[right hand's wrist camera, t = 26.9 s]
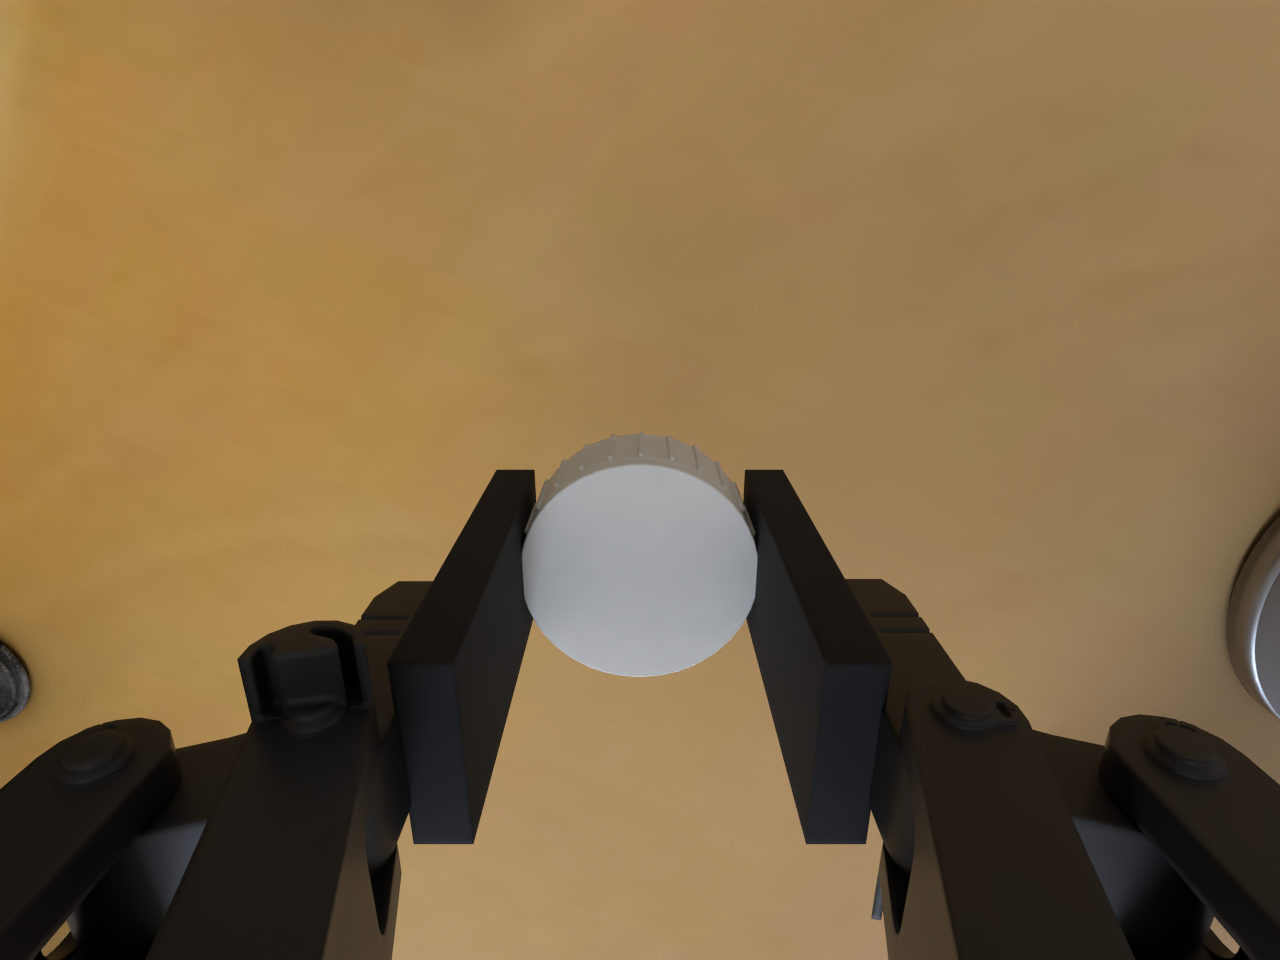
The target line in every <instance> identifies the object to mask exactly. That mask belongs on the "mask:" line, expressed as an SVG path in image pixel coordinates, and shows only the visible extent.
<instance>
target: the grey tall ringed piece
mask: <svg viewBox="0 0 1280 960" xmlns="http://www.w3.org/2000/svg"><path fill="white" fill-rule="evenodd" d="M29 696H30V684H29V680H28V676H27V673H26V671H25V670H24V668H23V666H22V665H21V663H20V661H19V660H18V659H17V658H16V657H15V656H14V655H13V654H12V653H11V651H10V650H8V649H7V648H6V647H4V646H3V645H2V644H0V722H3V721H6V720H8V719H10V718H12V717H14V716H16V715H17V714H18V713H19V712H20V711H21V710H22V709H23V708H24V707H25V706H26V704H27V701H28V699H29Z"/></svg>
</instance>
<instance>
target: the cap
mask: <svg viewBox="0 0 1280 960" xmlns="http://www.w3.org/2000/svg"><path fill="white" fill-rule="evenodd" d="M524 533H525V534H527V535H526V538H525V541H524V545H523V549H522V567H523V583H524V597H525V601H526V604H527V606H528V609H529V611H530V613H531V615H532V617H533V619H534V620H535V622H536V624H537V625H538V626H539V628H540V629H541V631H542V632H543V633H544V635H545V636H546V637H547V638H548V639H549V640H550V641H551V642H552V643H553V644H554V645H555V646H557V647H558V648H559V649H560V650H561V651H563V652H564V653H565V654H567V655H568V656H570V657H572V658H573V659H575V660H576V661H578V662H580V663H582V664H585V665H587V666H589V667H591V668H594V669H597V670H600V671H603V672H607V673H611V674H616V675H622V676H632V677H648V676H657V675H664V674H668V673H672V672H677V671H680V670H682V669H685V668H688V667H691V666H693V665H695V664H697V663H699V662H701V661H703V660H705V659H706V658H708V657H709V656H711V655H712V654H714V653H716V652H717V651H718V650H719V649H720V648H722V647H723V646H724V645H725V644H726V643H727V642H728V641H729V640H730V639H731V638H732V637H733V636H734V635H735V634H736V632H737V631H738V630H739V628H740V627H741V625H742V624H743V623H744V621H745V619H746V617H747V615H748V614H749V612H750V610H751V607H752V605H753V602H754V599H755V590H756V575H757V559H758V552H757V548H756V543H755V540H754V536H755V531H754V528H753V525H752V522H751V520H750V517H749V514H748V512H747V509H746V506H745V505H744V504H743V502H742V499H741V496H740V493H739V491H738V488H737V485H736V483H735V482H731V481H730V479H729V478H728V477H727V475H726V474H725V473H724V472H723V470H722V469H721V466H720V463H719V462H718V461H716V462H714V461H713V460H712V459H710V458H709V457H708V456H706V455H705V454H703V453H702V452H701V451H699V450H698V447H697V446H695V445H694V446H693V447H692V446H690V445H688V444H685V443H683V442H680V441H678V440H675V439H672V436H670V435H667V437H664V436H658V435H650V434H643V432H639V434H629V435H621V436H616V437H615V435H614V434H613V435H610V438H608V439H604V440H601V441H599V442H596V443H594V444H592V445H588V444H586V445H584V448H583V449H582V450H581V451H579V452H577V453H576V454H575V455H573V456H572V457H571V458H569V459H568V460H567V461H566V460H565V459H564V460H563V461H562V462H561V465H560V468H559V469H558V470H557V471H556V472H555V473H554V475H553V476H552V477H551V478H550V480H547V479H546V481H545V482H544V485H543V488H542V491H541V493H540V496H539V499H538V502H537V503H535V504H534V506H533V509H532V512H531V515H530V517H529V520H528V523H527V525H526V528H525V531H524Z"/></svg>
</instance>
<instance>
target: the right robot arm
mask: <svg viewBox="0 0 1280 960" xmlns="http://www.w3.org/2000/svg"><path fill="white" fill-rule="evenodd" d="M535 503H536V490H535V472H534V470H496V472H495V474H494V476H493V477H492V479H491V481H490V483H489V484H488V486H487V488H486V490H485V491H484V493H483V495H482V497H481V498H480V500H479V502H478V504H477V505H476V507H475V509H474V511H473V512H472V514H471V516H470V518H469V519H468V521H467V523H466V525H465V526H464V528H463V530H462V532H461V533H460V535H459V537H458V539H457V540H456V542H455V544H454V546H453V547H452V549H451V551H450V553H449V555H448V556H447V558H446V560H445V562H444V563H443V565H442V567H441V569H440V570H439V572H438V574H437V576H436V577H435V579H434V581H398V582H397V583H395V584H394V585H392V586H391V587H389V588H388V589H386V590H385V591H383V592H382V593H380V594H379V595H377V596H376V597H374V599H373V600H372V602H371V603H370V604H369V606H368V607H367V609H366V610H365V612H364V613H363V614H362V616H361V620H358V622H357V623H356V624H355V626H354V625H352V624H348V623H344V622H340V621H311V622H306V623H301V624H296V625H291V626H288V627H286V628H283V629H280V630H278V631H275V632H273V633H270V634H268V635H266V636H264V637H263V638H261V639H260V640H258V641H256V642H255V643H253V644H252V645H250V646H249V647H248V648H247V649H246V650H245V651H244V652H243V654H242V655H241V656H240V657H239V658H238V659H237V660H238V664H239V668H240V673H241V677H242V681H243V686H244V690H245V694H246V698H247V703H248V707H249V711H250V715H251V720H252V722H251V724H250V727H249V729H248V731H247V733H244V734H241V735H237V736H234V737H230V738H226V739H221V740H216V741H212V742H207V743H202V744H197V745H193V746H188V747H183V748H178V749H175V746H174V742H173V739H172V735H171V732H170V729H168V728H167V727H166V726H165V725H164V724H163V723H161V722H160V721H157V720H151V719H145V718H133V719H124V720H115V721H111V722H107V723H103V724H102V725H100V724H99V725H96V726H93V727H90V728H87V729H85V730H83V731H82V732H79V733H77V734H75V735H73V736H71V737H69V738H67V739H65V740H62V741H60V742H59V743H57V744H56V745H54V746H53V747H52V748H50V749H49V750H47V751H46V752H44V753H43V754H42V755H40V756H39V757H37V758H36V759H35V760H34V761H32V762H31V763H30V764H29V765H28V766H27V767H26V768H24V769H23V770H22V771H21V772H20V773H19V774H17V775H16V776H15V777H14V778H13V779H12V780H11V781H9V782H8V783H7V784H6V785H5V786H4V787H2V788H1V789H0V960H392V951H393V943H394V934H395V925H396V917H397V908H398V899H399V890H400V882H401V866H400V859H399V852H398V846H397V841H398V839H399V836H400V834H401V831H402V829H403V826H404V823H405V821H406V818H407V816H408V813H409V815H410V822H411V829H412V835H413V842H414V844H473V843H474V840H475V836H476V832H477V828H478V825H479V821H480V817H481V813H482V810H483V806H484V802H485V798H486V794H487V791H488V787H489V783H490V779H491V776H492V772H493V768H494V764H495V761H496V757H497V753H498V749H499V746H500V742H501V738H502V734H503V731H504V727H505V723H506V719H507V715H508V712H509V708H510V704H511V700H512V697H513V693H514V689H515V685H516V682H517V678H518V674H519V670H520V667H521V663H522V659H523V655H524V652H525V648H526V644H527V640H528V636H529V633H530V629H531V625H532V621H533V617H532V615H531V613H530V611H529V609H528V606H527V604H526V601H525V597H524V583H523V567H522V549H523V545H524V541H525V538H526V535H527V534H525V533H524V531H525V528H526V525H527V523H528V520H529V517H530V515H531V512H532V509H533V506H534V504H535ZM743 504H744V505H745V506H746V509H747V512H748V514H749V517H750V520H751V522H752V525H753V528H754V531H755V536H754V540H755V543H756V548H757V552H758V559H757V575H756V590H755V599H754V602H753V605H752V607H751V610H750V612H749V614H748V615H747V617H746V619H747V623H748V627H749V631H750V634H751V638H752V642H753V646H754V649H755V653H756V657H757V661H758V665H759V668H760V672H761V676H762V680H763V683H764V687H765V691H766V695H767V698H768V702H769V706H770V710H771V713H772V717H773V721H774V725H775V728H776V732H777V736H778V740H779V744H780V747H781V751H782V755H783V759H784V762H785V766H786V770H787V774H788V777H789V781H790V785H791V789H792V792H793V796H794V800H795V804H796V808H797V811H798V815H799V819H800V823H801V826H802V830H803V834H804V838H805V841H806V844H866V839H867V832H868V825H869V819H870V812H871V811H872V813H873V816H874V818H875V821H876V824H877V826H878V829H879V831H880V834H881V836H882V839H883V846H882V852H881V859H880V865H879V871H878V878H877V884H876V890H875V897H874V903H873V910H872V918H871V919H876V920H881V917H882V911H883V915H884V924H885V932H886V941H887V950H888V958H889V960H1280V785H1279V784H1278V783H1277V782H1275V781H1274V780H1273V779H1272V778H1271V777H1270V776H1268V775H1267V774H1266V773H1265V772H1264V771H1263V770H1261V769H1260V768H1259V767H1258V766H1257V765H1256V764H1254V763H1253V762H1252V761H1251V760H1250V759H1249V758H1247V757H1246V756H1245V755H1244V754H1242V753H1241V752H1240V751H1238V750H1237V749H1235V748H1234V747H1232V746H1231V745H1229V744H1228V743H1227V742H1225V741H1224V740H1222V739H1221V738H1219V737H1217V736H1215V735H1212V734H1210V733H1208V732H1206V731H1204V730H1202V729H1200V728H1198V727H1196V726H1194V725H1192V724H1189V723H1186V722H1183V721H1181V722H1180V721H1177V720H1175V719H1171V718H1166V717H1159V716H1149V715H1140V714H1139V715H1134V716H1128V717H1122V718H1120V719H1119V720H1117V721H1116V722H1115V723H1114V724H1113V725H1112V726H1110V729H1109V733H1108V736H1107V740H1106V743H1105V746H1102V745H1098V744H1093V743H1088V742H1083V741H1078V740H1074V739H1069V738H1064V737H1059V736H1054V735H1050V734H1047V733H1043V732H1039V731H1036V730H1032V728H1031V725H1030V723H1029V721H1028V720H1027V718H1026V717H1025V715H1024V714H1023V713H1022V711H1021V710H1020V709H1019V707H1018V706H1017V705H1015V704H1014V703H1013V702H1011V701H1010V700H1009V699H1007V698H1006V697H1004V696H1003V695H1002V694H1000V693H999V692H996V691H994V690H992V689H989V688H987V687H985V686H983V685H980V684H978V683H974V682H970V681H966V680H965V679H964V677H963V676H962V674H961V673H960V672H959V670H958V669H957V667H956V666H955V665H954V663H953V662H952V660H951V659H950V657H949V656H948V655H947V653H946V652H945V650H944V649H943V648H942V646H941V645H940V643H939V642H938V640H937V639H936V638H935V636H934V635H933V633H930V632H929V628H928V626H927V625H926V623H925V622H924V621H923V619H922V618H921V617H919V616H918V612H917V611H916V609H915V608H914V606H913V605H912V604H911V602H910V601H909V599H908V598H907V597H906V595H905V594H903V593H902V592H900V591H899V590H897V589H896V588H894V587H893V586H891V585H890V584H888V583H887V582H885V581H884V580H882V579H845V578H844V576H843V575H842V573H841V571H840V569H839V568H838V566H837V564H836V562H835V561H834V559H833V557H832V555H831V554H830V552H829V550H828V548H827V547H826V545H825V543H824V541H823V540H822V538H821V536H820V534H819V533H818V531H817V529H816V527H815V526H814V524H813V522H812V520H811V519H810V517H809V515H808V513H807V511H806V510H805V508H804V506H803V504H802V503H801V501H800V499H799V497H798V496H797V494H796V492H795V490H794V489H793V487H792V485H791V483H790V482H789V480H788V478H787V476H786V475H785V473H784V471H783V470H745V482H744V500H743ZM1226 638H1227V647H1228V652H1229V656H1230V660H1231V664H1232V666H1233V668H1234V671H1235V673H1236V675H1237V677H1238V679H1239V680H1240V682H1241V684H1242V685H1243V687H1244V688H1245V689H1246V690H1247V692H1248V693H1249V694H1250V695H1251V696H1252V697H1253V698H1254V699H1255V700H1256V701H1257V702H1258V703H1259V704H1260V705H1262V706H1263V707H1264V708H1265V709H1267V710H1268V711H1269V712H1271V713H1272V714H1273V715H1274V716H1276V717H1277V718H1278V719H1280V515H1279V517H1278V518H1277V519H1276V520H1275V521H1274V522H1273V523H1272V524H1271V526H1270V527H1269V528H1268V529H1267V531H1266V532H1265V533H1264V534H1263V536H1262V537H1261V538H1260V540H1259V541H1258V543H1257V544H1256V546H1255V547H1254V548H1253V550H1252V552H1251V553H1250V555H1249V557H1248V559H1247V560H1246V562H1245V564H1244V566H1243V568H1242V570H1241V572H1240V574H1239V576H1238V579H1237V581H1236V584H1235V587H1234V590H1233V592H1232V596H1231V600H1230V604H1229V608H1228V615H1227V623H1226ZM1214 916H1215V918H1216V919H1217V920H1218V921H1219V922H1220V923H1221V925H1222V926H1223V927H1224V928H1225V929H1226V931H1227V932H1228V933H1229V934H1230V935H1231V936H1232V938H1233V939H1234V940H1235V941H1236V942H1237V943H1238V945H1239V946H1240V948H1239V950H1238V952H1237V953H1236V954H1234V953H1232V952H1231V951H1230V950H1229V949H1228V948H1227V947H1226V946H1225V945H1224V944H1223V943H1222V942H1221V941H1220V940H1219V938H1218V937H1217V936H1216V935H1215V934H1214V932H1213V931H1212V930H1211V929H1210V926H1211V924H1212V921H1213V918H1214ZM66 920H67V923H68V925H69V928H70V930H71V931H70V932H69V934H68V935H67V936H66V937H65V938H64V940H63V941H62V942H61V943H60V944H59V946H57V947H56V948H55V949H54V950H53V951H52V952H51V953H50V954H48V955H47V956H46V957H45V956H44V955H43V954H42V952H41V949H42V948H43V947H44V946H45V945H46V943H47V942H48V941H49V940H50V939H51V938H52V936H53V935H54V934H55V933H56V932H57V930H58V929H59V928H60V927H61V926H62V925H63V923H64V922H65V921H66Z"/></svg>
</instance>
